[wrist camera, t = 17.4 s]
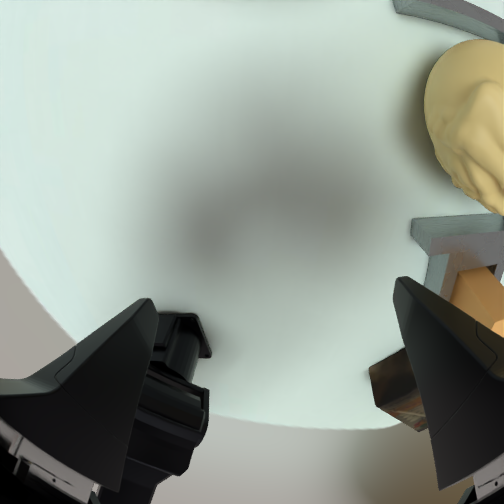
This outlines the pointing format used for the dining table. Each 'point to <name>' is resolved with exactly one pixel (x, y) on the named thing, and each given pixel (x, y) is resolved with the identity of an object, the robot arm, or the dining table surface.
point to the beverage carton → (398, 390)
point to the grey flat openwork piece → (465, 226)
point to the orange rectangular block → (480, 297)
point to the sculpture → (470, 118)
